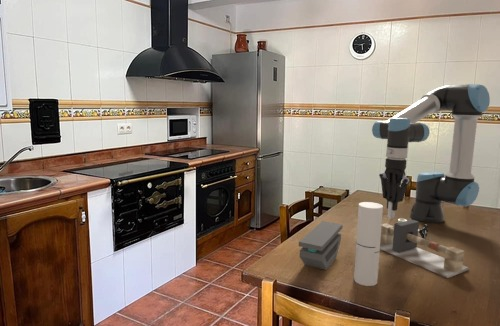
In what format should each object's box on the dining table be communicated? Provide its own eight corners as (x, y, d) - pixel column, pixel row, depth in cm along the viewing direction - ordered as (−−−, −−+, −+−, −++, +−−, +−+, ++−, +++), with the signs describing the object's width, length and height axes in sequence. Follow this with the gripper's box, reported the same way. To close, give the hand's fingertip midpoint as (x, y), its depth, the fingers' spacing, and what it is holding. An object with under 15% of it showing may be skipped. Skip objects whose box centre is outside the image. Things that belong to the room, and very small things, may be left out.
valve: (393, 235, 160) (423, 242, 152) (394, 220, 159) (424, 226, 151) (398, 231, 165) (427, 237, 157) (400, 217, 164) (429, 223, 156)
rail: (370, 245, 148) (372, 226, 147) (390, 239, 154) (392, 221, 153) (447, 278, 121) (450, 255, 120) (468, 270, 127) (470, 248, 126)
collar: (392, 249, 140) (394, 223, 139) (409, 244, 145) (412, 219, 144) (398, 252, 138) (401, 225, 136) (416, 247, 143) (419, 221, 141)
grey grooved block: (320, 278, 120) (321, 246, 118) (297, 272, 123) (298, 241, 122) (340, 251, 141) (342, 224, 140) (321, 247, 145) (322, 220, 143)
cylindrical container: (350, 275, 122) (355, 202, 118) (371, 275, 122) (377, 201, 118) (358, 286, 115) (364, 208, 111) (381, 285, 115) (387, 208, 111)
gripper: (375, 156, 146) (371, 214, 149) (404, 161, 134) (398, 223, 138) (388, 155, 149) (384, 212, 153) (417, 160, 138) (411, 220, 142)
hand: (391, 217), depth 146 cm, fingers closed
